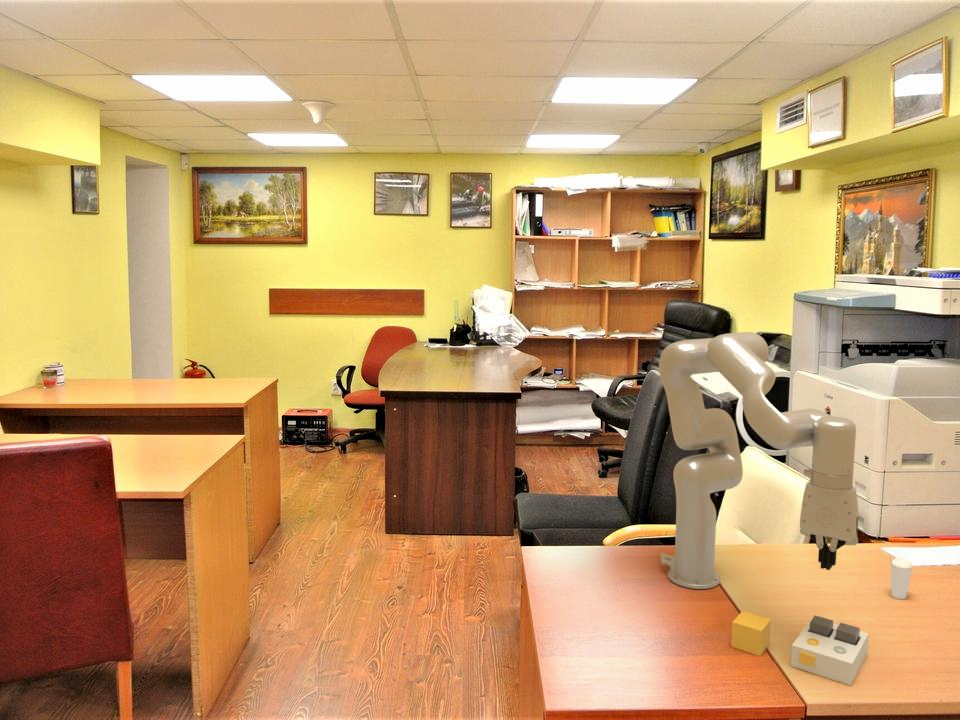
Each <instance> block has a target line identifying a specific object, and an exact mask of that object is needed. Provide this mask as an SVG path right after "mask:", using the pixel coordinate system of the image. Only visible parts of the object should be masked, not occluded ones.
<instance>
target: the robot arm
mask: <svg viewBox="0 0 960 720" xmlns="http://www.w3.org/2000/svg"><path fill="white" fill-rule="evenodd" d="M769 351H770V349H769V346H768V343H767V342H766V340H765V339H764V337H762V336H761V335H759V334H758V333H755V332H752V331H746V332H743V331H742V332H733V333H732V332H730V333H724V334H719V335H717V336H715V337H709V338H708V337H707V338H706V337H705V338H693V339H683V340H680V341H679V340H678V341H675V342H673V343H671V344H668V345H667V346H666V347H664V349H663V350H662V352H661V353H660V357H659V361H658V373H659V377H660V379H661V383H662V385H663V389H664V391H665V395H666V398H667V406H668V413H669V417H670V424H671V430H672V436H673V439H674V442H675V445H676V446H677V447H678V448H679V449H681V450H684V451H695V450H701V449H707V448H708V453H700V454H695V455H690V456H686V457H684V458H682V459H681V460H679V461H678V462H677V463H676V464H675V466H674V469H673V475H672V476H673V477H672V478H673V483H674V488H675V499H676V501H675V502H676V505H675V506H676V509H675V510H676V511H675V514H676V516H675V540H674V541H675V545H674V547H675V548H674V554H673V555H670V554H668V553H664V552H662V553H660V557H659V559H660V564H661V565H665V566H668V567H669V569H668V570H667V577H668V579H669V580H670V581H671V582H672V583H674V584H675V585H678V586H679V587H683V588H687V589H688V588H689V589H694V590H708V589H711V588H715V587H717V586H718V585H719V584H720V583H721V574H719V572H717V571H716V570H715V555H716V554H715V553H716V533H717V510H716V507H715V504H714V503H713V501H712V499H711V494H713V493H716V492H721V491H727V490H731V489H734V488H735V487H737V486H739V485H740V483H741V481H742V480H743V473H744V471H743V470H744V469H743V460H742V457H741V450H740V444H739V438H738V433H737V429H736V425H735V422H734V420H733V418H732V416H731V415H730V414H729V413H728V412H727V411H726V410H724V409H721V408H718V407H717V408H715V407H712V408H706V407H705V404H704V397H703V393H702V389H701V388H700V386H699V384H698V383H697V382H696V381H695V380H694V378H692V377H691V376H692V375H697V374H698V375H699V374H700V375H701V374H711V373H719V374H721V376H722V377H724V378H725V379H726V381H727V382H728V383H729V384H730V385H731V386H732V387H734V389H735V390H736V391H737V392H738V393H739V394H740V395H741V396H742V410H743V414H744V416H745V418H746V419H745V420H746V422H747V423H748V424H749V426H750V427H751V428H752V430H754V432H756V434H757V435H758V436H759V437H760V438H761V439H762V440H763V441H764V442H765V443H766V444H767V445H769V446H771V447H772V448H774V449H776V450H780V451H781V450H785V451H786V450H791V449H796V448H797V449H798V448H802V447H804V448H806V447H812V457H811V459H812V460H811V461H812V462H811V467H810V468H809V469H804V470H803V476H804V477H807V478H809V479H810V480H809V481H808V482H806V484H805V487H804V491H803V494H802V495H803V496H802V502H801V507H800V516H799V529H800V530H799V533H800V534H801V535H804V536H806V537H807V538H810V539H811V540H812V541H813V542H814V544H815V545H816V548H817V549H818V557H817V558H818V559H817V561H818V563H820V569H821V570H823V569H825V570H826V571H830V570H831V569H832V567H834V566H836V564H837V551H838V550H839V549H841V548H842V547H843V546H856V545H857V544H858V543H859V538H858V530H859V501H858V494H857V489H856V487H854V486H853V483H854V471H855V469H854V468H855V453H856V436H857V435H856V434H857V426H856V423H855V421H852V420H851V419H849V418H847V417H843V416H833V415H831V414H829V413H826V412H824V411H822V410H819V409H815V408H807V409H806V408H805V409H797V410H791V411H784V412H781V411H779V410H778V409H777V408H776V407H775V406H774V405H773V404H772V403H771V402H770V401H769V399H768V398H767V397H766V395H767V394H768V393H769V392H770V391H771V389H772V387H773V386H774V384H775V381H776V373H775V371H774V369H772V368H771V367H770V366H769V365H768V364H767V363H766V361H767V360H768V357H769V354H770V353H769ZM827 538H829V539H830V544H828V542H827Z"/></svg>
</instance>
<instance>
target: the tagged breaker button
mask: <svg viewBox="0 0 960 720" xmlns="http://www.w3.org/2000/svg"><path fill="white" fill-rule="evenodd" d="M812 618H813V619H812V620H811V621H810V620H809V621H810V629H809V632H811V633H815V634H818V635H821V636H825V637H828V638H830V636H831V634H832V632H833V624H834V620H832V619H830V618H826V617H822V616H818V615H814V616H813V617H812Z"/></svg>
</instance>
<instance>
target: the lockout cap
mask: <svg viewBox="0 0 960 720" xmlns="http://www.w3.org/2000/svg"><path fill="white" fill-rule="evenodd" d="M731 623H732V625H731V641H730V642H731V643H730V648H731V647H732V648H734V649H737V650H740V651H744V652H747V653H750V654H753V655H756V656H759V657H761V656H762V654H763V653H764V652H765V651H766V649H767V648H768V647H769V645H770V644H771V626H772V619H771V618H768V617H764V616H760V615H758V614H754V613H750V612H747V611H744V610H742V611H741V612H740V613H739V614H738V615H737V616H736V617H735V618H734V620H733V621H732V622H731Z"/></svg>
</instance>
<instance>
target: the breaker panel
mask: <svg viewBox="0 0 960 720" xmlns="http://www.w3.org/2000/svg"><path fill="white" fill-rule="evenodd" d="M812 619H813V617H811V618H810V619H809V621H808V623H807V624H806V625H805V626H804V627H803V629H802V631H801V632H800V633H799V635H798V636H797V638H796V639H795V641H793V643H792V645H791V656H790V659H791V660H790V667H793V668H796V669H799V670H802V671H805V672H807V673H810V674H814V675H817V676H820V677H823V678H826V679H829V680H832V681H836V682H838V683H842V684H845V685H848V686H850V687H851V686H852V684H853V682H854V680H855V679H856V676H857V675H858V673H859V670H860V668H861V666H862V665H863V663H864V661H865V659H866V657H867V656H868V647H869V646H868V645H869V635H870V634H869V633H868V632H865V631H861V630H860V634H859V642H858V644H857V645H856V646H855V645H852V644H849V643H845V642H842V641H838V640H835V639H836V629H837V628H838V626H839V624H836V623H833V632H832V634H831V636H830V638H828V637H825V636H821V635H818V634H815V633H811V632H809V629H810V621H811V620H812Z"/></svg>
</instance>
